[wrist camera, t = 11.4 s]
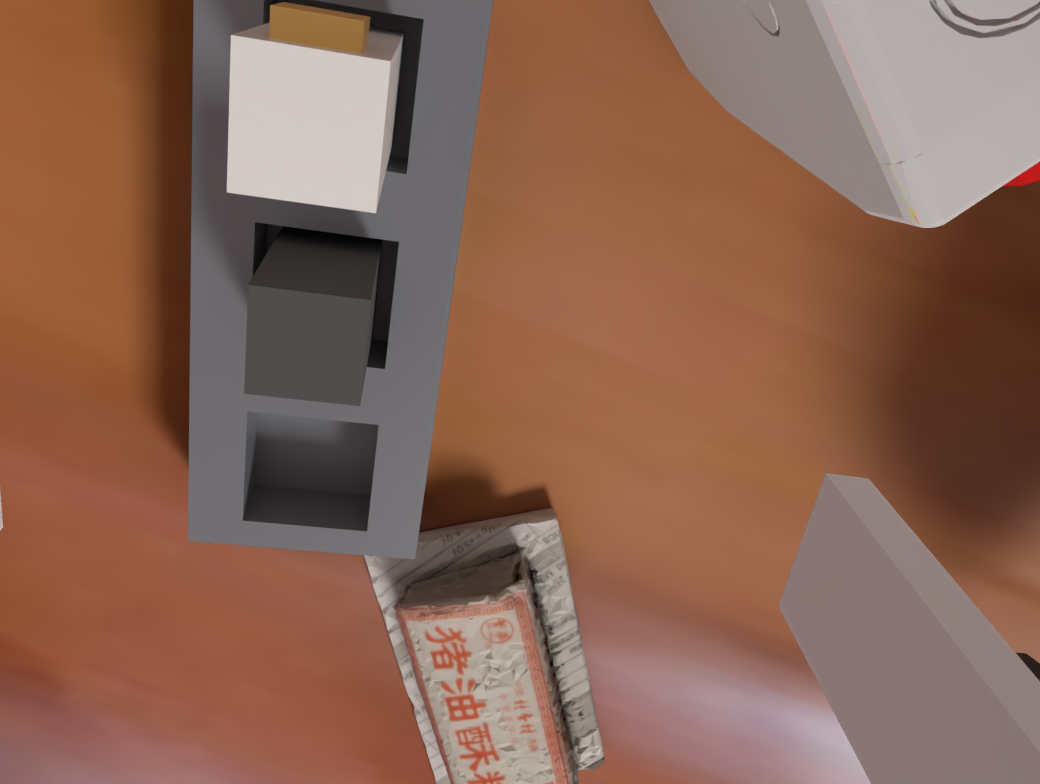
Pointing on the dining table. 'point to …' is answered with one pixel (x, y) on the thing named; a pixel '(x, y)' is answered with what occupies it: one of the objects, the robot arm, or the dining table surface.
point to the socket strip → (398, 315)
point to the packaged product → (492, 651)
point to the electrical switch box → (878, 92)
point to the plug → (313, 107)
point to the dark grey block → (312, 317)
